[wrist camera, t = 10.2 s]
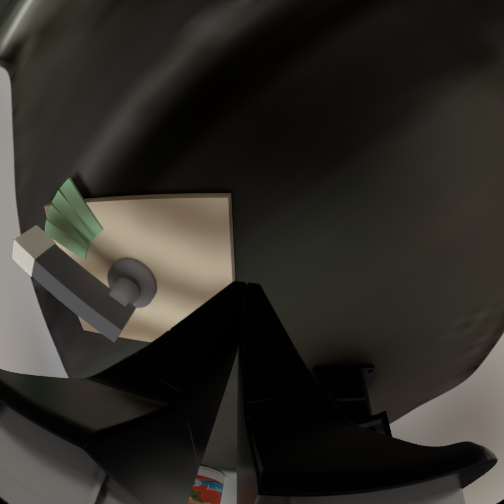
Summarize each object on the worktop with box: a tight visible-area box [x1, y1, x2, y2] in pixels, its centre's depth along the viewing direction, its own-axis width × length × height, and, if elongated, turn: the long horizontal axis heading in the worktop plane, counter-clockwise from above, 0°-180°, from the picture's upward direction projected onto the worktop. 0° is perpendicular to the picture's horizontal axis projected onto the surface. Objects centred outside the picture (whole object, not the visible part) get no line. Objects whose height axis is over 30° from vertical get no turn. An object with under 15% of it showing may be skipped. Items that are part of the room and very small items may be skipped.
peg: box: [12, 225, 140, 343], centre depth 19 cm, size 11×2×4 cm, turn 53°
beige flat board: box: [44, 178, 235, 342], centre depth 23 cm, size 16×18×2 cm
